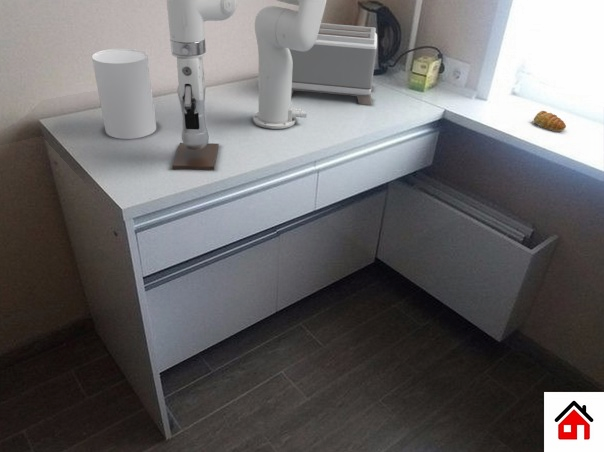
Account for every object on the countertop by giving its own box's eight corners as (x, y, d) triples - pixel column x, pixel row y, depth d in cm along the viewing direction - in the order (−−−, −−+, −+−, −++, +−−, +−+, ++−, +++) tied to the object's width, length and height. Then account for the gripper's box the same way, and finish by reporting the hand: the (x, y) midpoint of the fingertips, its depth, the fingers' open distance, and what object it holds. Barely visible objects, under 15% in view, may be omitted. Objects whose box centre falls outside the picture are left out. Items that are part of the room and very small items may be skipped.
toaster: (278, 77, 181) (280, 18, 170) (372, 86, 178) (380, 27, 167) (269, 95, 165) (269, 31, 154) (371, 105, 162) (380, 41, 151)
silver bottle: (214, 146, 125) (210, 66, 114) (196, 155, 120) (189, 73, 109) (195, 139, 128) (189, 61, 116) (176, 148, 123) (168, 67, 111)
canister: (157, 136, 134) (148, 62, 123) (104, 140, 131) (90, 64, 119) (155, 117, 145) (146, 47, 134) (106, 120, 141) (93, 49, 130)
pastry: (569, 130, 153) (573, 118, 151) (555, 134, 150) (559, 122, 148) (543, 119, 160) (547, 108, 158) (529, 123, 157) (533, 111, 154)
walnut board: (218, 146, 131) (218, 143, 130) (214, 170, 120) (213, 166, 120) (180, 146, 130) (180, 142, 130) (172, 169, 120) (172, 165, 119)
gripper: (201, 58, 103) (206, 139, 113) (209, 38, 117) (213, 111, 128) (164, 57, 103) (173, 138, 113) (177, 36, 117) (183, 110, 127)
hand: (194, 123), depth 120 cm, fingers closed on silver bottle, 5 cm apart
